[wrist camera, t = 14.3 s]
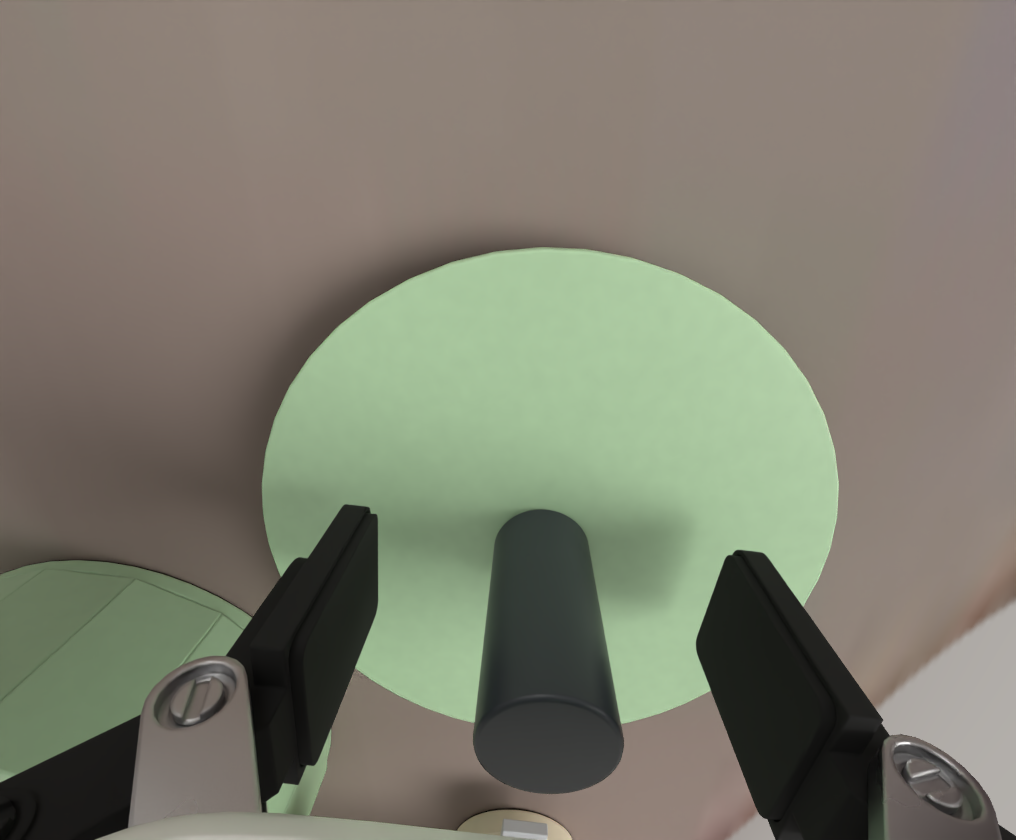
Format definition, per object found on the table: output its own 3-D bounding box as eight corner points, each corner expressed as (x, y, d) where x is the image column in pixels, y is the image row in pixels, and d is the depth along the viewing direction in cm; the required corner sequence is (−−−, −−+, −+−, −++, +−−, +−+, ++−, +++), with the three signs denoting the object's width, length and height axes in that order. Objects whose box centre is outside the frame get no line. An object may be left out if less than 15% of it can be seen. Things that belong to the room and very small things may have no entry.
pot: (-199, 526, 14) (-596, 692, 9) (409, 595, 14) (344, 799, 9) (-43, 789, 20) (-242, 986, 15) (402, 839, 20) (358, 1054, 15)
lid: (256, 209, 10) (-89, 194, 5) (909, 285, 10) (1384, 364, 5) (302, 671, 16) (174, 923, 10) (722, 719, 16) (829, 996, 10)
